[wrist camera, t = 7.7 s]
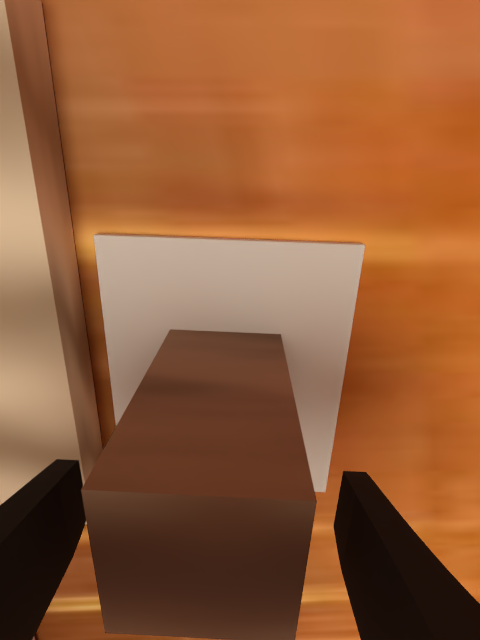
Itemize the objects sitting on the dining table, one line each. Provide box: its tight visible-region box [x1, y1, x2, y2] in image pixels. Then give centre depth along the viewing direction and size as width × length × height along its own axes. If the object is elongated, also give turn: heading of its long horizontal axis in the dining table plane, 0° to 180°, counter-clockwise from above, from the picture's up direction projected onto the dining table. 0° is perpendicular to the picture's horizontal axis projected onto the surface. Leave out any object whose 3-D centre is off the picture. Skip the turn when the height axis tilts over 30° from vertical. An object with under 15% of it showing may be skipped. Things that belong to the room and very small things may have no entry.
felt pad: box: [94, 233, 365, 492], centre depth 15 cm, size 12×10×1 cm
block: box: [81, 329, 317, 640], centre depth 11 cm, size 4×4×8 cm
